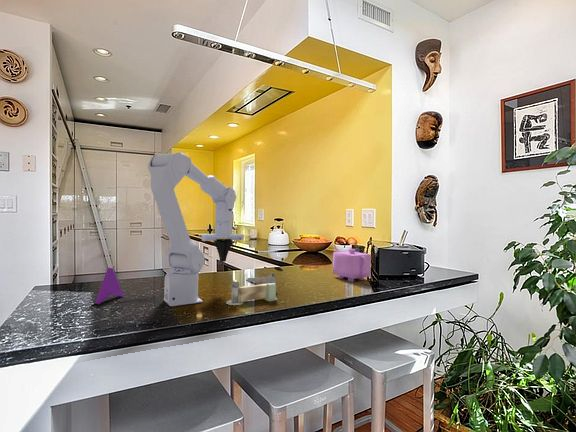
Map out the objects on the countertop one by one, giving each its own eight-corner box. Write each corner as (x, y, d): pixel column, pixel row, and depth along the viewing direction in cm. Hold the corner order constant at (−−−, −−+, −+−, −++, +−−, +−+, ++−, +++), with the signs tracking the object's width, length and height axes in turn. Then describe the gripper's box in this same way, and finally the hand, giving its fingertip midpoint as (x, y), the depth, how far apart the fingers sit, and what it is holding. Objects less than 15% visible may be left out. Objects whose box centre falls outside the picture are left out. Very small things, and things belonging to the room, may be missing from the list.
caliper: (276, 292, 116) (276, 274, 116) (273, 292, 115) (273, 274, 115) (248, 280, 133) (248, 264, 133) (245, 281, 132) (246, 265, 132)
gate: (240, 301, 100) (241, 287, 100) (238, 300, 101) (238, 286, 101) (273, 297, 106) (273, 284, 106) (270, 295, 108) (270, 282, 107)
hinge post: (230, 306, 96) (231, 283, 96) (223, 302, 100) (224, 279, 100) (246, 304, 99) (246, 281, 99) (238, 300, 103) (239, 278, 103)
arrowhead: (111, 315, 100) (90, 297, 93) (107, 314, 100) (86, 296, 94) (130, 286, 106) (112, 267, 100) (126, 285, 107) (108, 267, 100)
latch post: (268, 301, 103) (268, 285, 103) (264, 299, 105) (265, 283, 105) (277, 300, 105) (277, 284, 104) (273, 298, 106) (274, 282, 106)
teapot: (374, 281, 136) (375, 250, 136) (356, 284, 131) (357, 252, 130) (341, 273, 153) (342, 245, 153) (324, 274, 148) (325, 246, 147)
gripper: (206, 222, 108) (205, 264, 108) (247, 222, 115) (246, 261, 116) (200, 221, 114) (199, 261, 114) (239, 221, 121) (238, 258, 122)
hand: (222, 261), depth 115 cm, fingers closed
